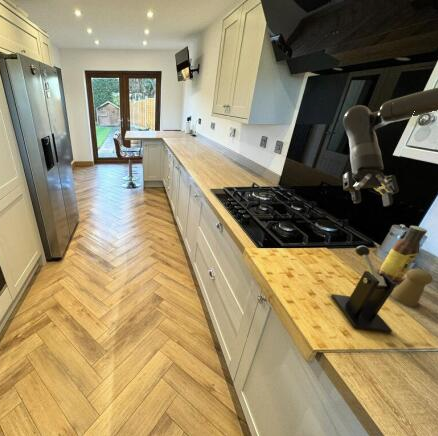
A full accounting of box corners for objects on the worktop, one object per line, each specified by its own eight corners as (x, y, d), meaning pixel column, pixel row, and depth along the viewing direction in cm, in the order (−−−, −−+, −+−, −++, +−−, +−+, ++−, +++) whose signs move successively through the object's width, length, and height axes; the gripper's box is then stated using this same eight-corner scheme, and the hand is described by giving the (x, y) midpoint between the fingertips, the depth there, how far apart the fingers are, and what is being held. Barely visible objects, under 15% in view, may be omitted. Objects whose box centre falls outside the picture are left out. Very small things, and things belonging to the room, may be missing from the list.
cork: (389, 297, 76) (407, 270, 71) (392, 289, 80) (409, 263, 75) (415, 309, 72) (436, 281, 67) (417, 300, 75) (437, 273, 71)
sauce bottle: (398, 284, 82) (431, 235, 73) (375, 274, 87) (403, 227, 78) (402, 277, 86) (434, 229, 77) (380, 268, 90) (407, 222, 82)
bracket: (330, 296, 75) (348, 261, 69) (361, 300, 74) (382, 265, 68) (353, 328, 65) (377, 290, 59) (390, 333, 64) (418, 295, 57)
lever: (351, 248, 73) (358, 243, 70) (362, 250, 72) (369, 244, 70) (368, 288, 65) (377, 283, 62) (381, 290, 64) (390, 285, 62)
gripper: (350, 151, 76) (356, 196, 71) (400, 154, 74) (410, 201, 69) (335, 163, 83) (339, 206, 78) (379, 167, 81) (387, 210, 76)
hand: (372, 204), depth 73 cm, fingers open, 8 cm apart
